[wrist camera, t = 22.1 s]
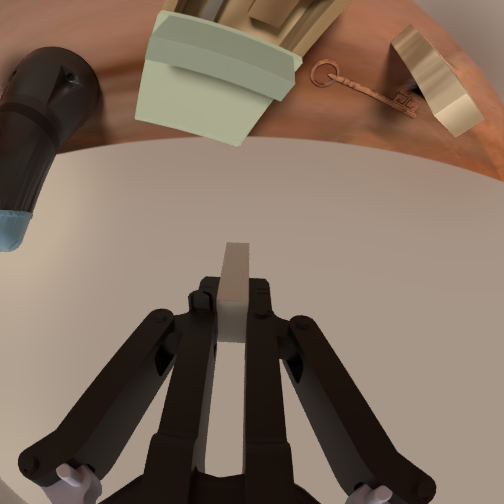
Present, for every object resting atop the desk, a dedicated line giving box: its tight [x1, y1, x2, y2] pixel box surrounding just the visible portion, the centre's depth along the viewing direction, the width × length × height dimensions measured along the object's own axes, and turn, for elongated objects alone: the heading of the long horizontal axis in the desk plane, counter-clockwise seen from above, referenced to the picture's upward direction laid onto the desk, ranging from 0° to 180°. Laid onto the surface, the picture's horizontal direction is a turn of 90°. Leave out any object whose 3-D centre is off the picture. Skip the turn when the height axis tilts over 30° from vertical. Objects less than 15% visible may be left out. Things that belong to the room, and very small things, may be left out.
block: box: [391, 25, 485, 137], centre depth 15 cm, size 4×4×12 cm
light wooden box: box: [162, 0, 353, 57], centre depth 15 cm, size 12×13×6 cm
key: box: [310, 60, 421, 118], centre depth 24 cm, size 6×1×15 cm
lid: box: [135, 10, 303, 147], centre depth 20 cm, size 12×13×5 cm
